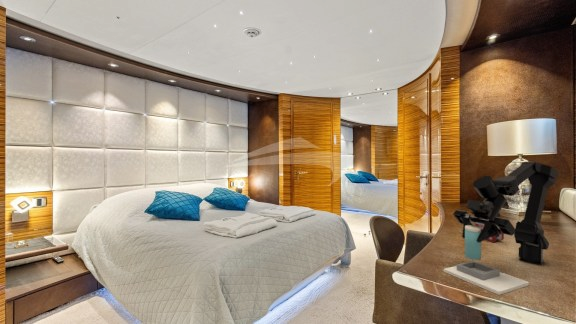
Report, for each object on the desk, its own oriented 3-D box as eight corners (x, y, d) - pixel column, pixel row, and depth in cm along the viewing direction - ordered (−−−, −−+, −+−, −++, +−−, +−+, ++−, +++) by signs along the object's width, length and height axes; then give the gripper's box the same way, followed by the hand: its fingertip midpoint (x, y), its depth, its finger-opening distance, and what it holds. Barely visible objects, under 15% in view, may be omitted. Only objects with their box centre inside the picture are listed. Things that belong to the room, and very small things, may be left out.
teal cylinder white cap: (480, 256, 94) (480, 226, 94) (481, 261, 90) (481, 229, 90) (464, 254, 97) (464, 224, 97) (464, 258, 93) (465, 227, 93)
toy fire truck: (499, 244, 126) (499, 223, 126) (471, 237, 137) (471, 218, 137) (506, 242, 129) (506, 221, 129) (478, 235, 140) (478, 216, 140)
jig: (471, 264, 101) (471, 257, 101) (528, 285, 85) (529, 276, 85) (443, 271, 95) (443, 263, 95) (499, 295, 79) (499, 285, 79)
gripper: (456, 189, 103) (435, 219, 100) (509, 195, 86) (487, 232, 82) (470, 207, 106) (450, 237, 102) (524, 217, 89) (503, 253, 85)
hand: (470, 239), depth 93 cm, fingers closed on teal cylinder white cap, 5 cm apart
